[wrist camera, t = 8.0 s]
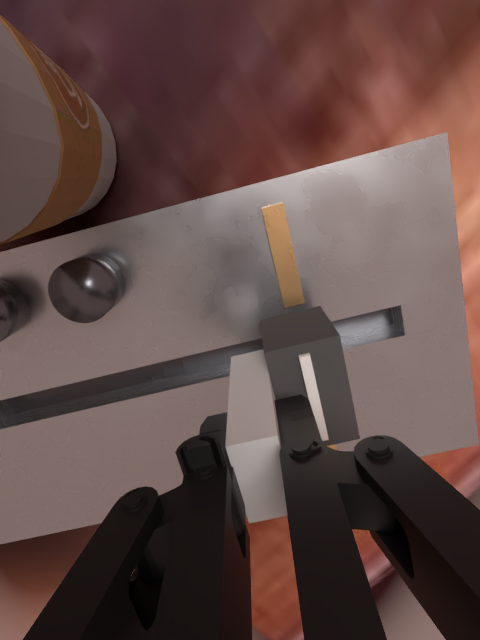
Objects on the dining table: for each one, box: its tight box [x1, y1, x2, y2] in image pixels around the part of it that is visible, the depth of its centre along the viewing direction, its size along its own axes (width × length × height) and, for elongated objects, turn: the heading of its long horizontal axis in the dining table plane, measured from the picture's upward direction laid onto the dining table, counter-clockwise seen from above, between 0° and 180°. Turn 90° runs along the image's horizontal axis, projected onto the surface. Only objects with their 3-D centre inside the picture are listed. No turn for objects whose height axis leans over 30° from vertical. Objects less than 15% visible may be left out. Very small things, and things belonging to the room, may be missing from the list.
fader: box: [260, 306, 360, 446], centre depth 19 cm, size 4×3×7 cm, turn 14°
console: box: [0, 132, 479, 544], centre depth 22 cm, size 16×28×4 cm, turn 104°
